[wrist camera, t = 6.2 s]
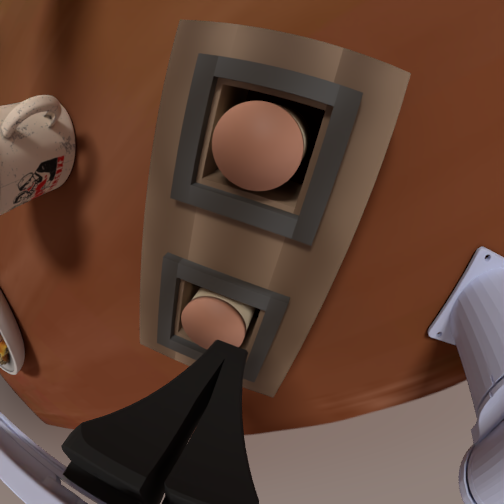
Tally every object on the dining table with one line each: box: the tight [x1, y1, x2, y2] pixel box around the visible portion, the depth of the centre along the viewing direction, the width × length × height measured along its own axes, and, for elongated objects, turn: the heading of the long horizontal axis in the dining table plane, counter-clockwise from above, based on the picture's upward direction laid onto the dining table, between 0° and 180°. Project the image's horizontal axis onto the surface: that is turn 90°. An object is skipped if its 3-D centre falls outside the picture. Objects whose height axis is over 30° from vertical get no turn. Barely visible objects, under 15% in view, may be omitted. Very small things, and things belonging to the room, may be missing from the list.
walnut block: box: [140, 20, 411, 397], centre depth 18 cm, size 11×22×5 cm, turn 165°
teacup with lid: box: [0, 95, 75, 215], centre depth 16 cm, size 12×9×12 cm
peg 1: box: [181, 287, 256, 349], centre depth 20 cm, size 4×4×5 cm
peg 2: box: [212, 101, 311, 191], centre depth 15 cm, size 4×4×5 cm
